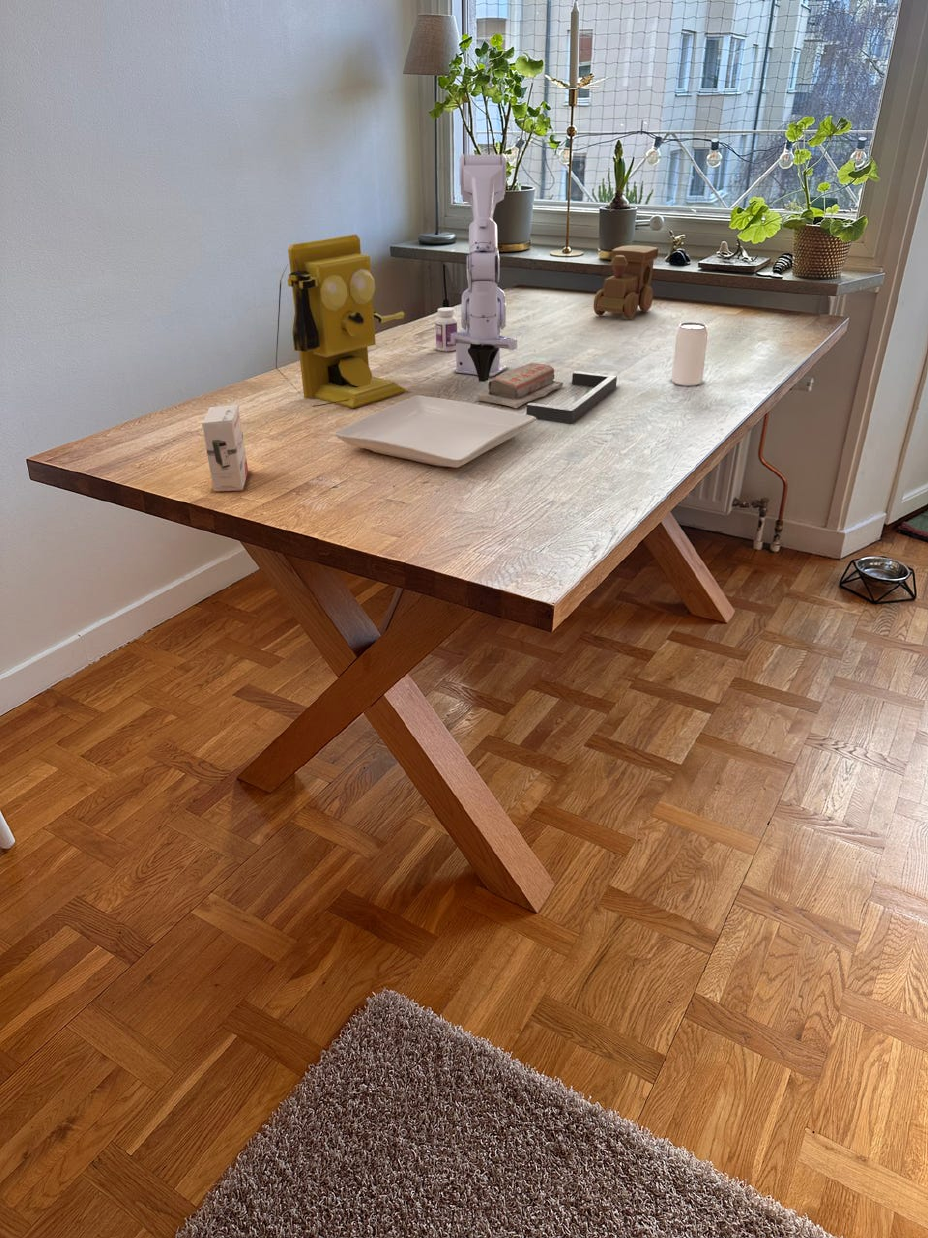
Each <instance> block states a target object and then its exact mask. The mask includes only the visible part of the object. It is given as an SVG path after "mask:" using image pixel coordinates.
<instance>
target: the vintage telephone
mask: <svg viewBox="0 0 928 1238" xmlns="http://www.w3.org/2000/svg"><path fill="white" fill-rule="evenodd" d="M361 247H362V246H361V238H360V237H359V235H357V234H349V235H342V236H336V237H330V238H323V239H315V240H310V241H304V242H297V243H291V244H290V245H289V247H288V249H287V253H288V261H289V262H288V263H287V264H286V266H285V268H284V271H283V273H282V275H281V277H280V280H279V294H278V295H279V297H278V314H277V315H278V316H277V333H276V334H277V337H276V350H278V349H279V333H280V332H279V331H280V329H279V328H280V312H281V295H282V280H283V278H284V275H285V272H286V269H287V267H288V265H289V272H290V273H289V274H288V278H287V286H288V287H291V288H292V289H291V290H292V299H293V308H294V317H293V324H292V333H291V334H292V342H293V350H294V351H295V352H296V351H298V354H299V364H300V374H301V381H302V391H303V392H302V393H303V398H304V399H313V398H316V399H320V400H323V401H325V403H321V404H316V405H311V404H310V406H311V407H312V408H315V407H320V406H326V405H331V404H336V405H339V406H343V407H345V408H349V409H352V410H353V409H356V408H359V407H362V406H365V405H368V404H372V403H376V402H378V401H381V400H385V399H388V398H391V397H394V396H397V395H401V394H403V393H405V392H406V391H407V389H406V388H404V387H402V386H400V385H399V384H398V383H396V382H394V381H390V380H386V379H383V378H380V377H375V376H373V374H372V371H371V368H370V363H369V348H368V347H372V346H376V344H377V343H376V329H375V326H376V325H375V319H377V320H378V323H379V324H383V323H387V322H389V321H393V320H401V319H402V320H403V319H404V318H405V315H406V313H405V312H404V311H398V312H396V313H394V314H389V315H381V314H379V313H377V312H376V311H375V310H374V298H373V296H374V294H375V291H376V281H375V278H374V277H373V275H372V267H371V266H372V265H371V264H372V263H371V255H370V254H364V253H362V248H361ZM275 353H276V354H275V355H276V357H275V369H276V370H277V371H278V372H279V373H280V374H281V375H282V376H283V378H285V379H286V380H288V378H287V377H286V375H284V374H283V373H282V372H281V371H280V369H278V366H277V365H278V364H277V363H278V352H275ZM291 386H292V387H293V388H294V389H295V390H296V391H297V392H298V393H299V394H301V392H300V391H299V390H298V389H297V388H296V387H295V386H294V385H293V384H291ZM326 402H327V403H326Z"/></svg>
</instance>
